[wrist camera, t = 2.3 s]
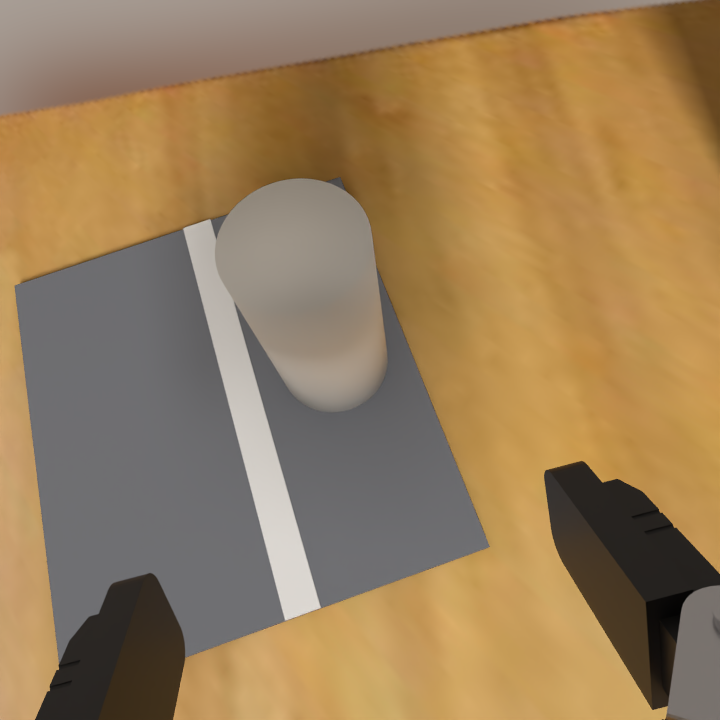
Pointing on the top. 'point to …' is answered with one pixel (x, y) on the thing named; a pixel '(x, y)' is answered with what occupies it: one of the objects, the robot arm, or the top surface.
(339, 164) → the top surface
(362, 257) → the white cylinder
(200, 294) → the gray striped mat
